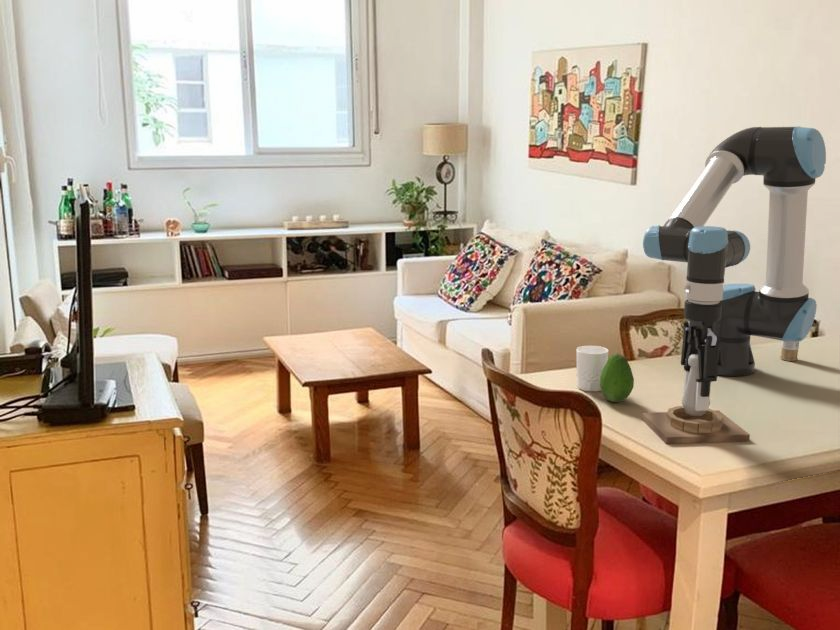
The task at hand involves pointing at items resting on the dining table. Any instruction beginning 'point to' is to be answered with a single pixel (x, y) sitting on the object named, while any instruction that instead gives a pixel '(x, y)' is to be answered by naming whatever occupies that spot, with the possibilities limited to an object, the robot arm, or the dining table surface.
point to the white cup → (590, 366)
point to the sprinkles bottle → (789, 351)
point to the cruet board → (694, 437)
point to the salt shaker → (692, 388)
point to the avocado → (616, 379)
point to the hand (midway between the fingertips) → (695, 404)
